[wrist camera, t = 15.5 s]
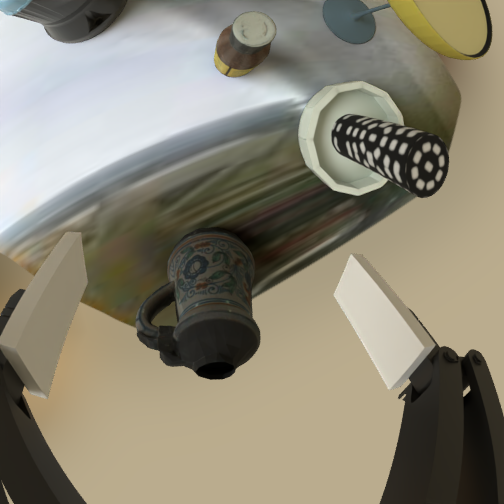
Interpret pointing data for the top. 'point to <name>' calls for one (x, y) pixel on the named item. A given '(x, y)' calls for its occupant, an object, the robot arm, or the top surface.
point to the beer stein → (205, 306)
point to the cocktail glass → (420, 23)
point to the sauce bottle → (244, 44)
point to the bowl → (320, 127)
